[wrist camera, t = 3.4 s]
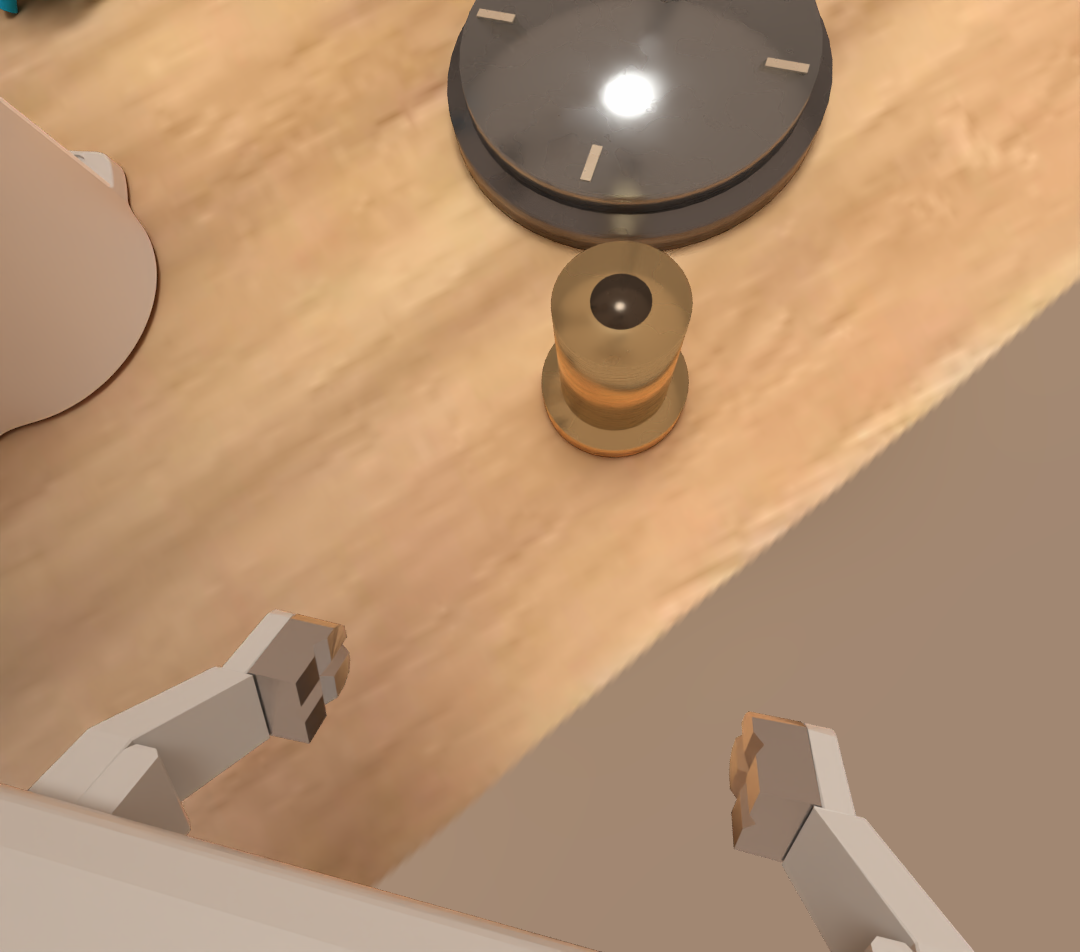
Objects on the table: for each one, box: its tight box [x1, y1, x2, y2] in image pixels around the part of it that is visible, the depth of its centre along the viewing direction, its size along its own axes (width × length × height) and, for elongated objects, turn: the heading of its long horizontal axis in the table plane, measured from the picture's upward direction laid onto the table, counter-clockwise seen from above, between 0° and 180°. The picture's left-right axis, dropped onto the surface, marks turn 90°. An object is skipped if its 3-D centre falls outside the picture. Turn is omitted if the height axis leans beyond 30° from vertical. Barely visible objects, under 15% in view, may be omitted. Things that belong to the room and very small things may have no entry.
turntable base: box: [447, 16, 832, 251], centre depth 32 cm, size 20×20×2 cm
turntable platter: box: [459, 0, 823, 215], centre depth 31 cm, size 18×18×2 cm
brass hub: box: [542, 241, 693, 457], centre depth 25 cm, size 7×7×8 cm
